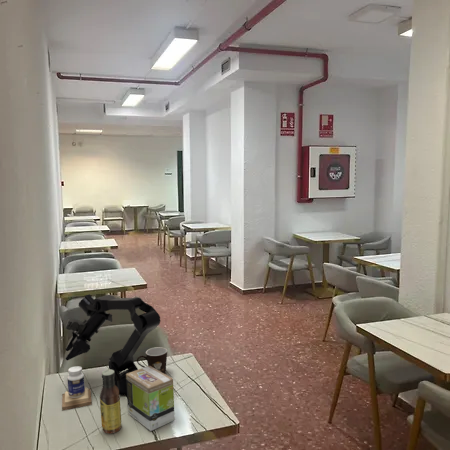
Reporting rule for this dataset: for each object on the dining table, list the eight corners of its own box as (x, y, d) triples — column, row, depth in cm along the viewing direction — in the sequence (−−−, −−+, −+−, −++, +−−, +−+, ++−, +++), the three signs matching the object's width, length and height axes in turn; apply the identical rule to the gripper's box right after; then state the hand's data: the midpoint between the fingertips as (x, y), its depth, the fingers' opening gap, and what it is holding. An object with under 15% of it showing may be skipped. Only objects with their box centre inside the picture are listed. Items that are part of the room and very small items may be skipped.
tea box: (176, 420, 146) (174, 378, 144) (150, 432, 139) (147, 388, 137) (152, 403, 157) (150, 363, 155) (127, 413, 150) (124, 373, 149)
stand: (90, 391, 166) (90, 385, 166) (91, 404, 157) (91, 398, 157) (62, 397, 163) (62, 391, 163) (62, 410, 154) (61, 404, 153)
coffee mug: (171, 370, 182) (170, 347, 181) (163, 380, 174) (162, 356, 173) (145, 368, 185) (144, 346, 184) (136, 378, 176) (135, 354, 175)
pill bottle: (74, 400, 156) (72, 373, 154) (65, 395, 159) (63, 369, 158) (88, 393, 160) (86, 367, 159) (79, 389, 164) (77, 363, 162)
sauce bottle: (104, 424, 144) (100, 367, 142) (123, 423, 145) (119, 366, 142) (100, 436, 138) (95, 376, 135) (120, 434, 138) (116, 375, 136)
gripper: (77, 304, 177) (50, 334, 174) (78, 318, 159) (48, 352, 157) (98, 320, 180) (72, 350, 178) (102, 335, 163) (73, 369, 160)
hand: (66, 354), depth 168 cm, fingers open, 9 cm apart
